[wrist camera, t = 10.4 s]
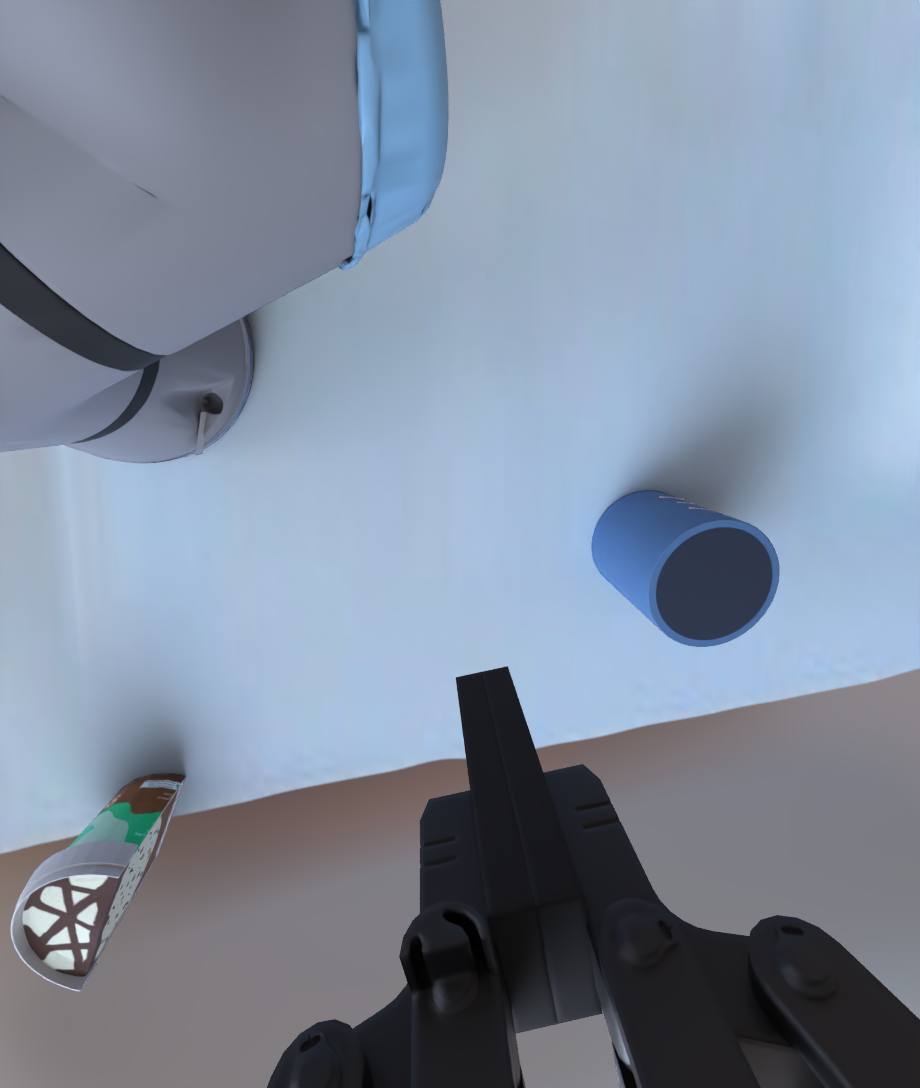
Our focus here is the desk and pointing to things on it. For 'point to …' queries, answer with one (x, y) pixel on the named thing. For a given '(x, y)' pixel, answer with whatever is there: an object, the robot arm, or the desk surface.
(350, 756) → the desk surface
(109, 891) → the food container
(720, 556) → the measuring cup
